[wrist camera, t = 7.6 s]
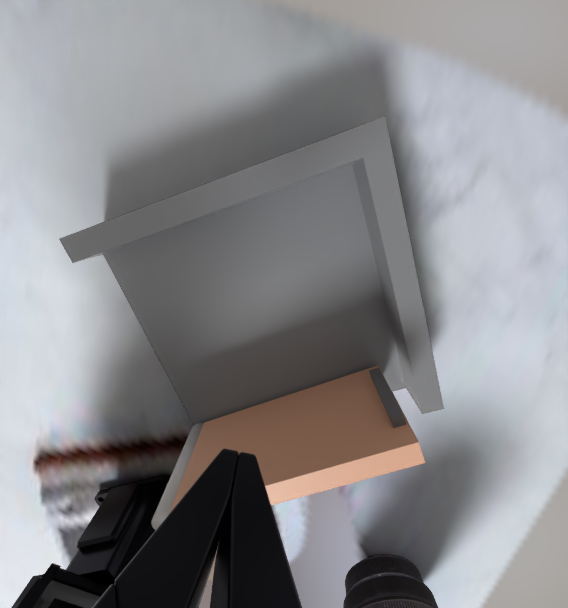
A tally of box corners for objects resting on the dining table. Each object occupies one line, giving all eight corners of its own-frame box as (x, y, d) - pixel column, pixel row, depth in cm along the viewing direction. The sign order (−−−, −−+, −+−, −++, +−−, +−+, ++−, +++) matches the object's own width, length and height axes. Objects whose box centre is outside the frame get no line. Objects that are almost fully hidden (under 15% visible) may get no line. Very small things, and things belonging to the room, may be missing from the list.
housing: (421, 386, 20) (497, 496, 13) (205, 442, 22) (161, 566, 15) (365, 133, 16) (435, 71, 8) (95, 234, 18) (-53, 260, 10)
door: (197, 442, 21) (160, 537, 15) (184, 421, 20) (140, 511, 14) (384, 382, 19) (425, 464, 13) (375, 357, 18) (415, 431, 12)
